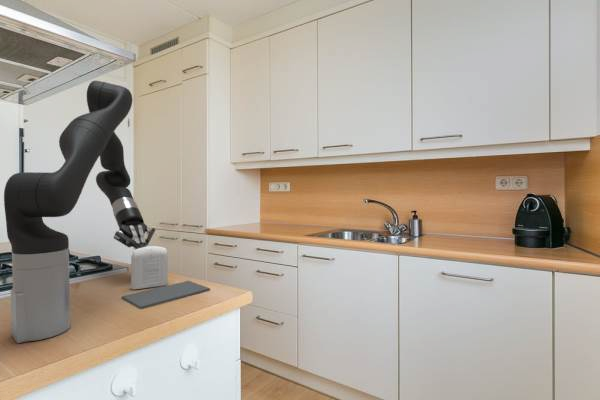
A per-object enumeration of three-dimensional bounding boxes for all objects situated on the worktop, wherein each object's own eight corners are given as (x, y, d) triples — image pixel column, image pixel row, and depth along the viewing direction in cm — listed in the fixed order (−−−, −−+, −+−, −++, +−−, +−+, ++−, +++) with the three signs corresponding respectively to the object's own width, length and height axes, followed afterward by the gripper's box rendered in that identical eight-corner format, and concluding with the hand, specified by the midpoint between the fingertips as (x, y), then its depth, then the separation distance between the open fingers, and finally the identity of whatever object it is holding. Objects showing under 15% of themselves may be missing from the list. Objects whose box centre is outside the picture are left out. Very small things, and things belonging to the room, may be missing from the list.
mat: (140, 309, 81) (140, 306, 81) (121, 298, 89) (121, 296, 89) (210, 290, 96) (210, 288, 96) (188, 282, 104) (188, 280, 104)
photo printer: (166, 282, 104) (165, 243, 104) (169, 285, 101) (168, 245, 100) (130, 287, 99) (129, 247, 98) (132, 291, 95) (131, 249, 95)
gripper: (108, 207, 102) (124, 250, 95) (150, 205, 112) (168, 244, 105) (102, 222, 106) (118, 265, 98) (143, 220, 116) (160, 258, 108)
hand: (144, 255), depth 102 cm, fingers closed
